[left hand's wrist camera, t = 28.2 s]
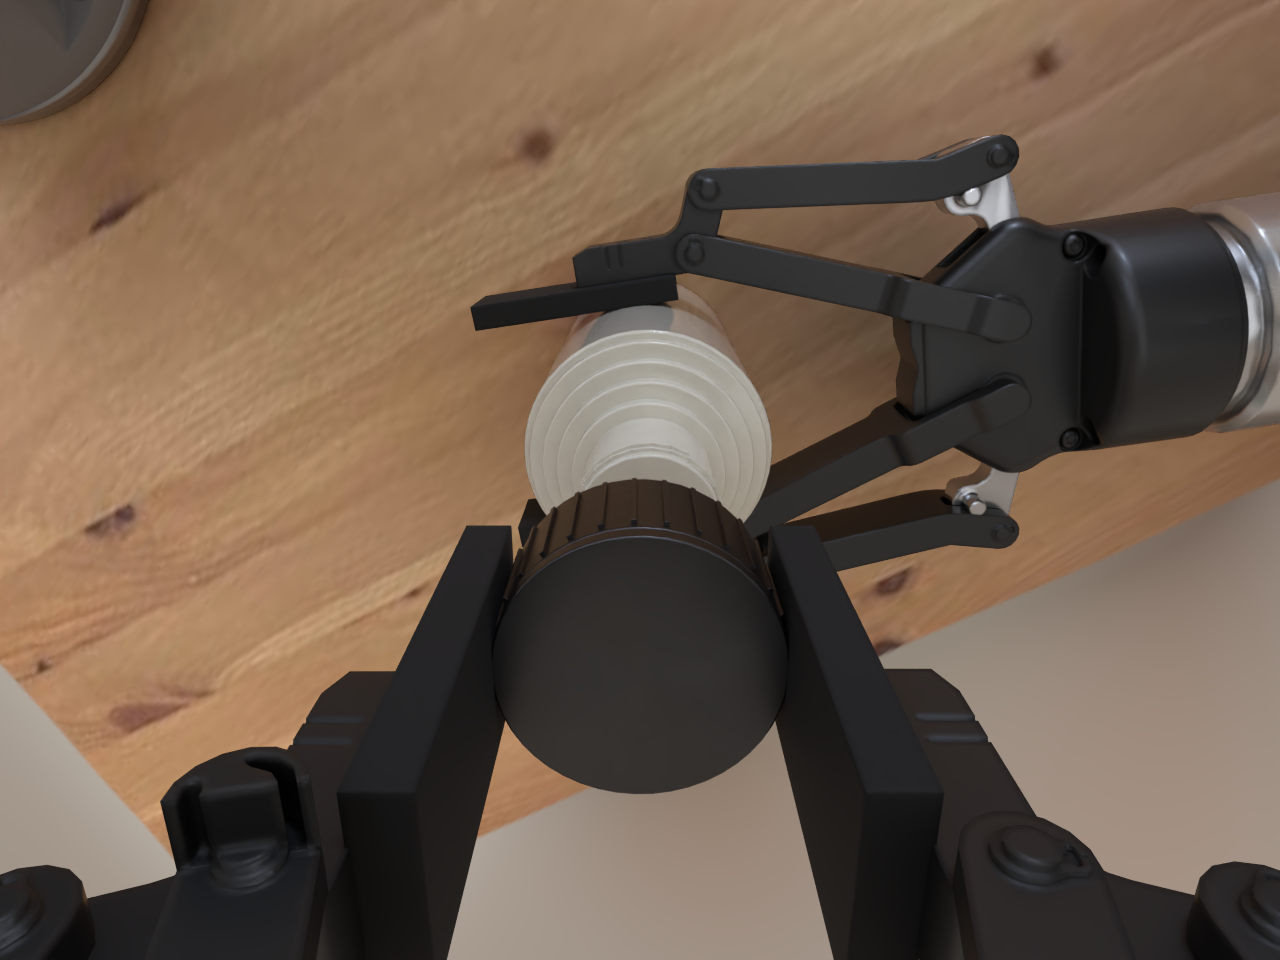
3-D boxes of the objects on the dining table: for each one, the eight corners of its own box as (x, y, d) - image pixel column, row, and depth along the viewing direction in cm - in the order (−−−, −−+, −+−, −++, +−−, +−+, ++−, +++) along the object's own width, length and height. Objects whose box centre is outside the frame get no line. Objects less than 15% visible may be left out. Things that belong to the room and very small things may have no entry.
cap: (527, 453, 14) (505, 507, 12) (798, 499, 14) (828, 560, 12) (495, 687, 15) (471, 775, 13) (740, 723, 16) (756, 816, 13)
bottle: (743, 292, 34) (836, 397, 17) (713, 451, 36) (770, 679, 20) (575, 266, 34) (508, 347, 17) (556, 428, 36) (479, 639, 19)
